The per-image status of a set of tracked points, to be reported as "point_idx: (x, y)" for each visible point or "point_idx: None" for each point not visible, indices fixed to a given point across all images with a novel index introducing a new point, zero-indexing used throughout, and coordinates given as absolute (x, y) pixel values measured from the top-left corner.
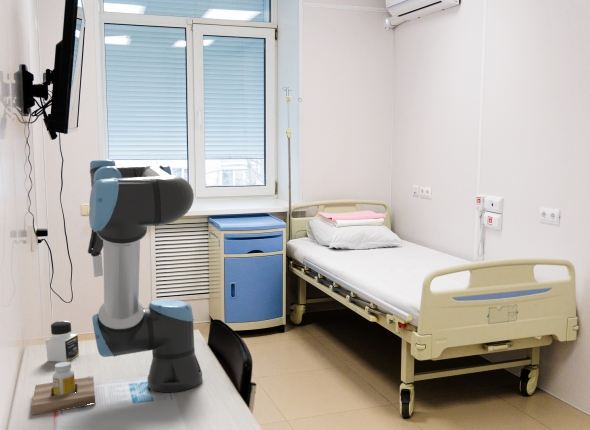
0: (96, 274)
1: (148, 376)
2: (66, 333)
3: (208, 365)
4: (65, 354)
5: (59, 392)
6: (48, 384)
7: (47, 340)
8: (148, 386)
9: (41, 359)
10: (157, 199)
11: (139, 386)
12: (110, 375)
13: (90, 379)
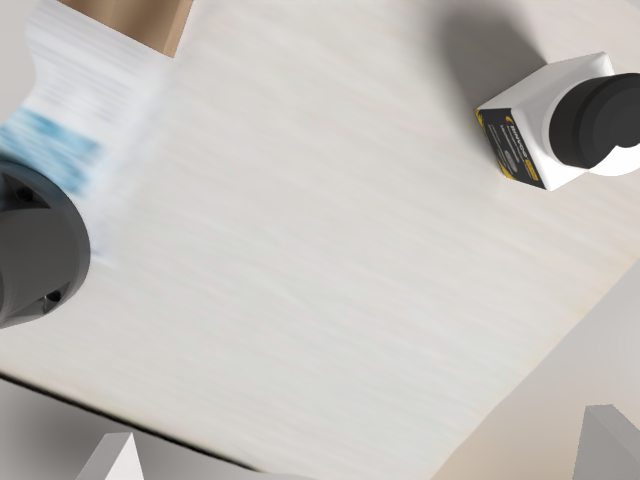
0: (602, 438)
1: (12, 178)
2: (548, 130)
3: (80, 372)
4: (488, 107)
5: None
6: None
7: (596, 56)
8: (16, 164)
9: None
10: None
11: (53, 152)
12: (219, 143)
13: (136, 28)
